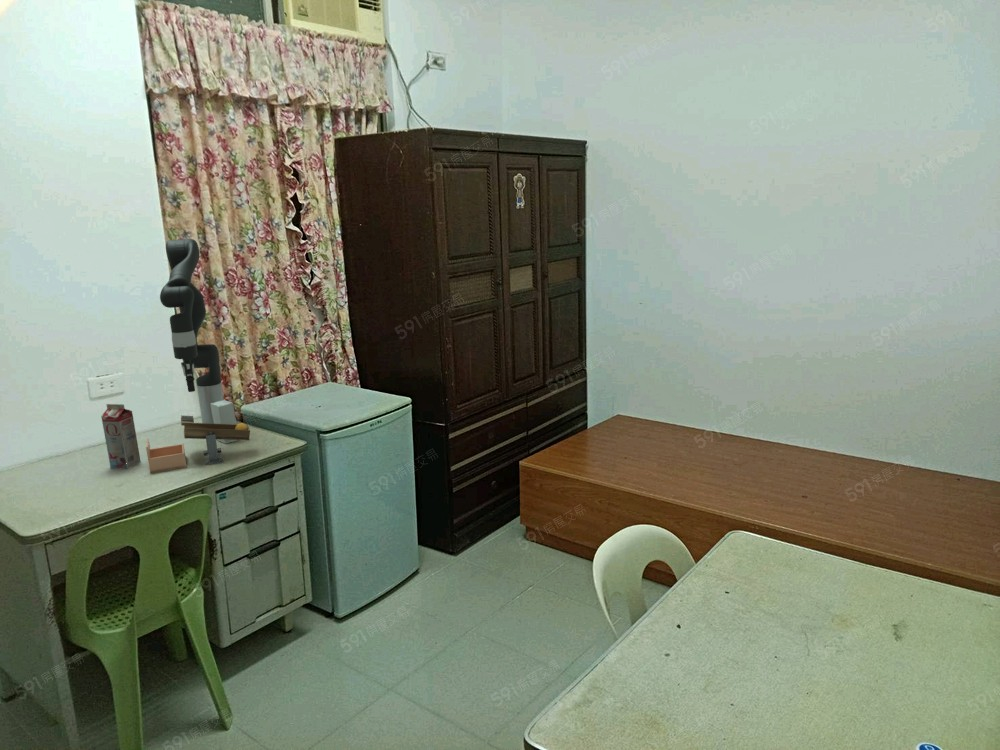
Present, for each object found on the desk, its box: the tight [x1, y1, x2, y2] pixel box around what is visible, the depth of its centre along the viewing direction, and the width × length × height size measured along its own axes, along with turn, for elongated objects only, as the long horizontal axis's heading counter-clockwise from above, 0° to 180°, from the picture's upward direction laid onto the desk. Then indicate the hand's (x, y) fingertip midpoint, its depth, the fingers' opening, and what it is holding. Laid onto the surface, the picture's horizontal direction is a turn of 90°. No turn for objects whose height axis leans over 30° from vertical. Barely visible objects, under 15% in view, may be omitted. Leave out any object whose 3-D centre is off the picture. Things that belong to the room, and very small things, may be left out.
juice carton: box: [101, 403, 142, 470], centre depth 241 cm, size 7×7×22 cm
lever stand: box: [202, 433, 225, 466], centre depth 246 cm, size 14×6×10 cm, turn 25°
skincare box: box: [210, 399, 239, 444], centre depth 264 cm, size 8×6×15 cm
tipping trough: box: [180, 415, 251, 441], centre depth 250 cm, size 18×22×4 cm
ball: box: [235, 422, 247, 430], centre depth 250 cm, size 4×4×4 cm
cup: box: [145, 438, 187, 474], centre depth 241 cm, size 11×11×9 cm
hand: (191, 388), depth 248 cm, fingers open, 8 cm apart
